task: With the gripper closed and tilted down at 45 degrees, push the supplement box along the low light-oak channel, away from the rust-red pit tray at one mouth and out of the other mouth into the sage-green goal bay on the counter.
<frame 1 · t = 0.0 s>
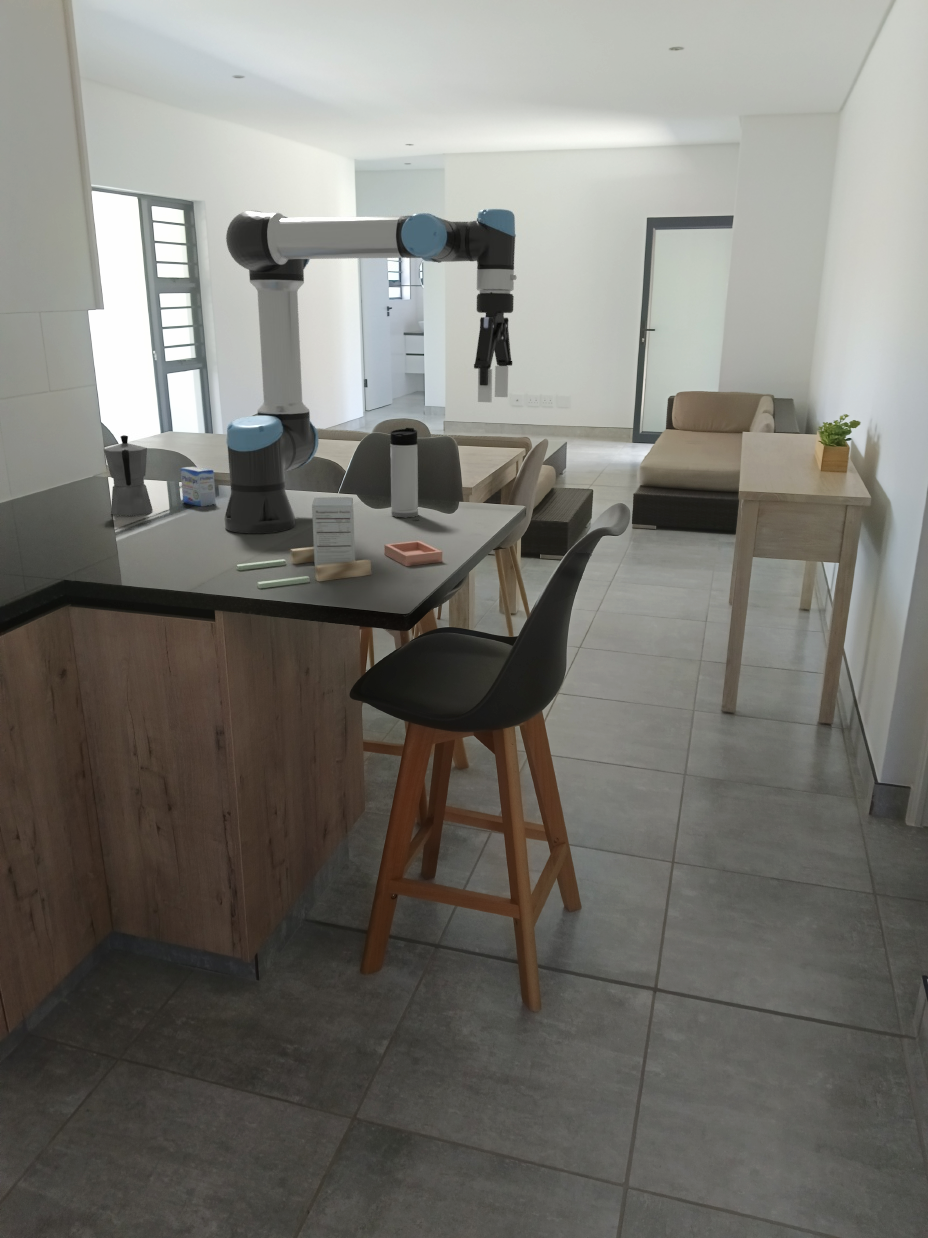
hand: (493, 399, 194), 28 cm above the table, tool pointing down, fingers open, 13 cm apart
pit tray: (413, 558, 178), on the table
channel: (335, 567, 171), on the table
supplement box: (335, 568, 171), on the table
coffeepot: (132, 514, 216), on the table
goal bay: (272, 575, 166), on the table
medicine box: (199, 504, 228), on the table
travel mug: (405, 516, 217), on the table
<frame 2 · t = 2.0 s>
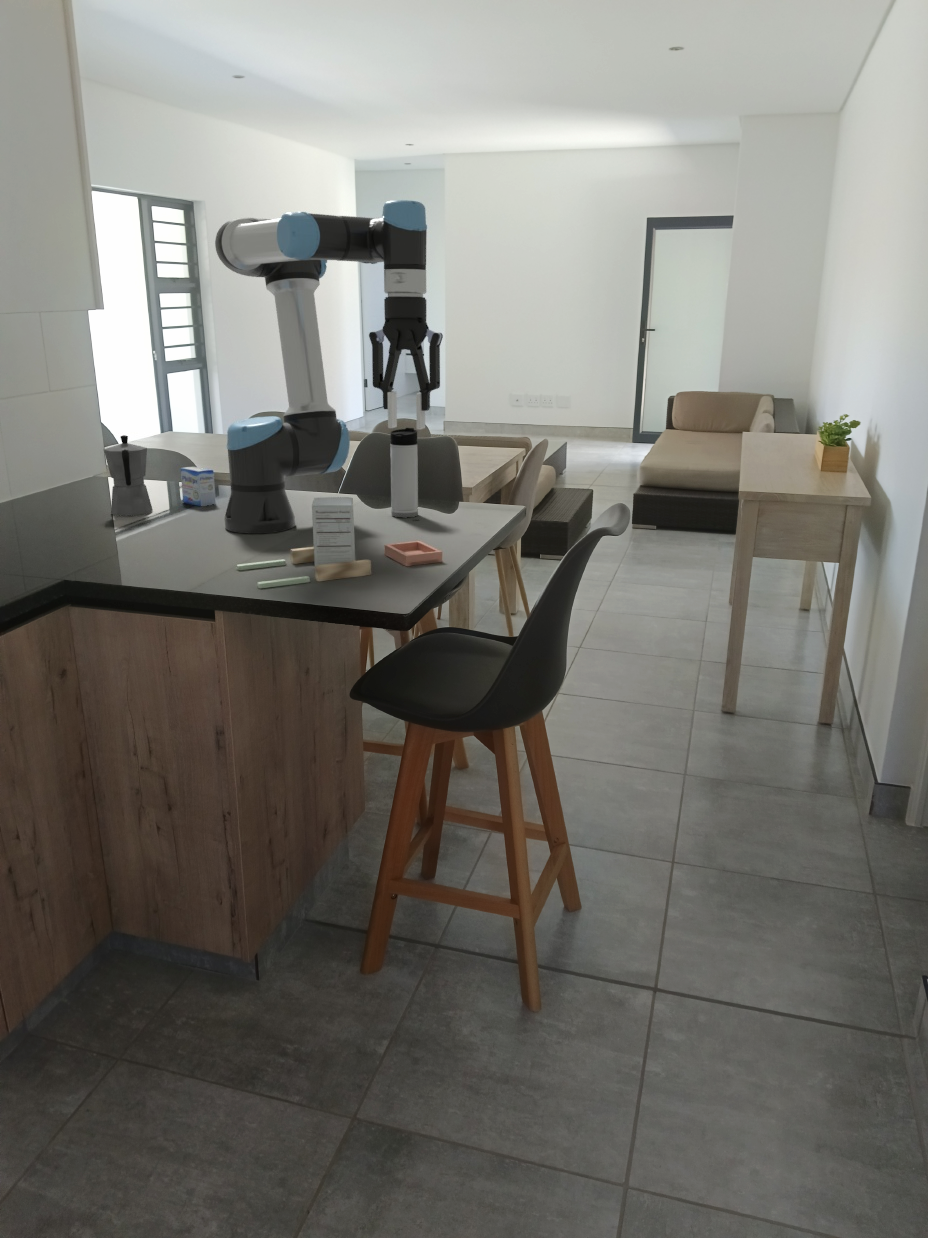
hand: (406, 427, 172), 25 cm above the table, tool pointing down, fingers open, 5 cm apart
nothing on the table moved.
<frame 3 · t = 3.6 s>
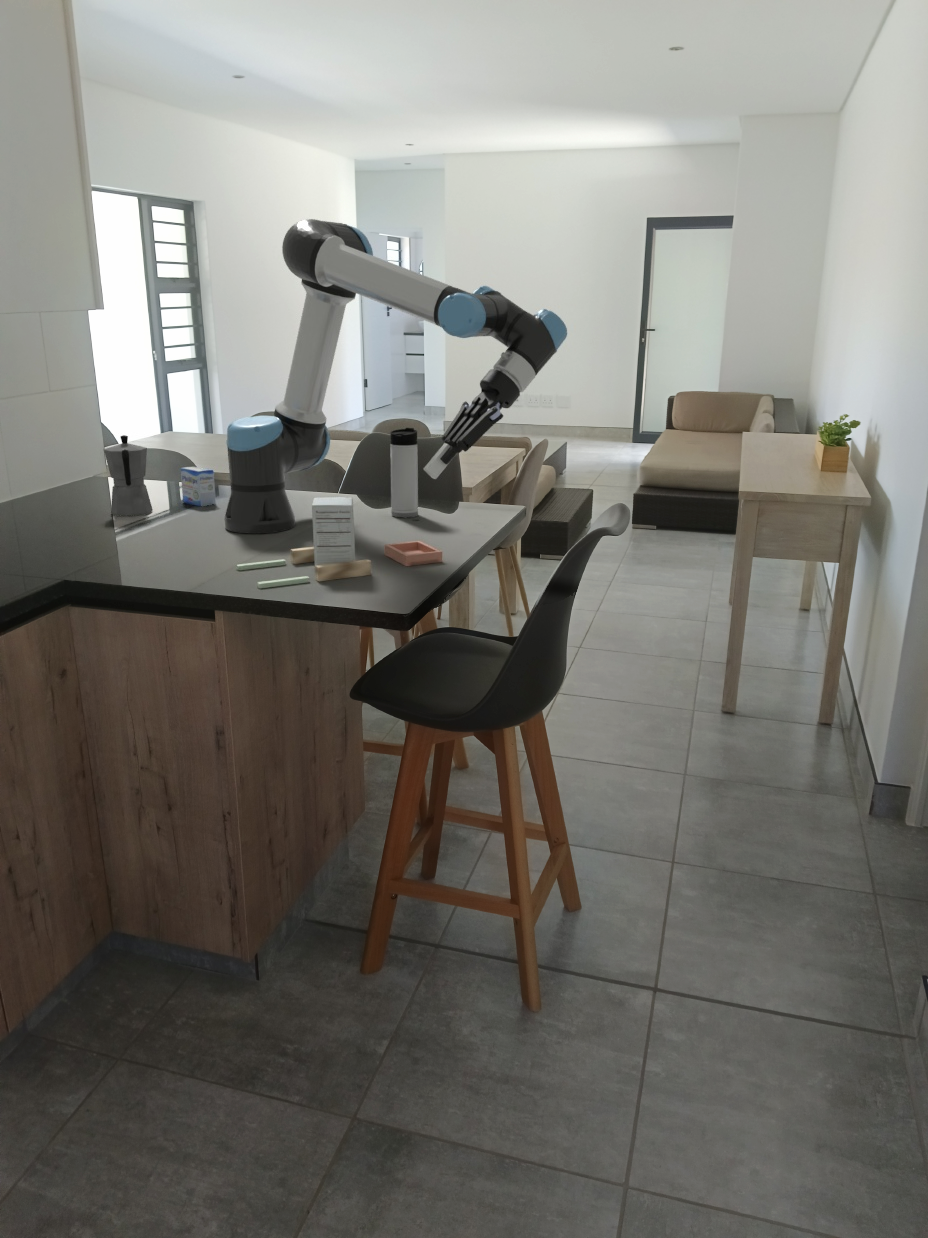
hand: (429, 474, 175), 16 cm above the table, tool tilted 45°, fingers closed
nothing on the table moved.
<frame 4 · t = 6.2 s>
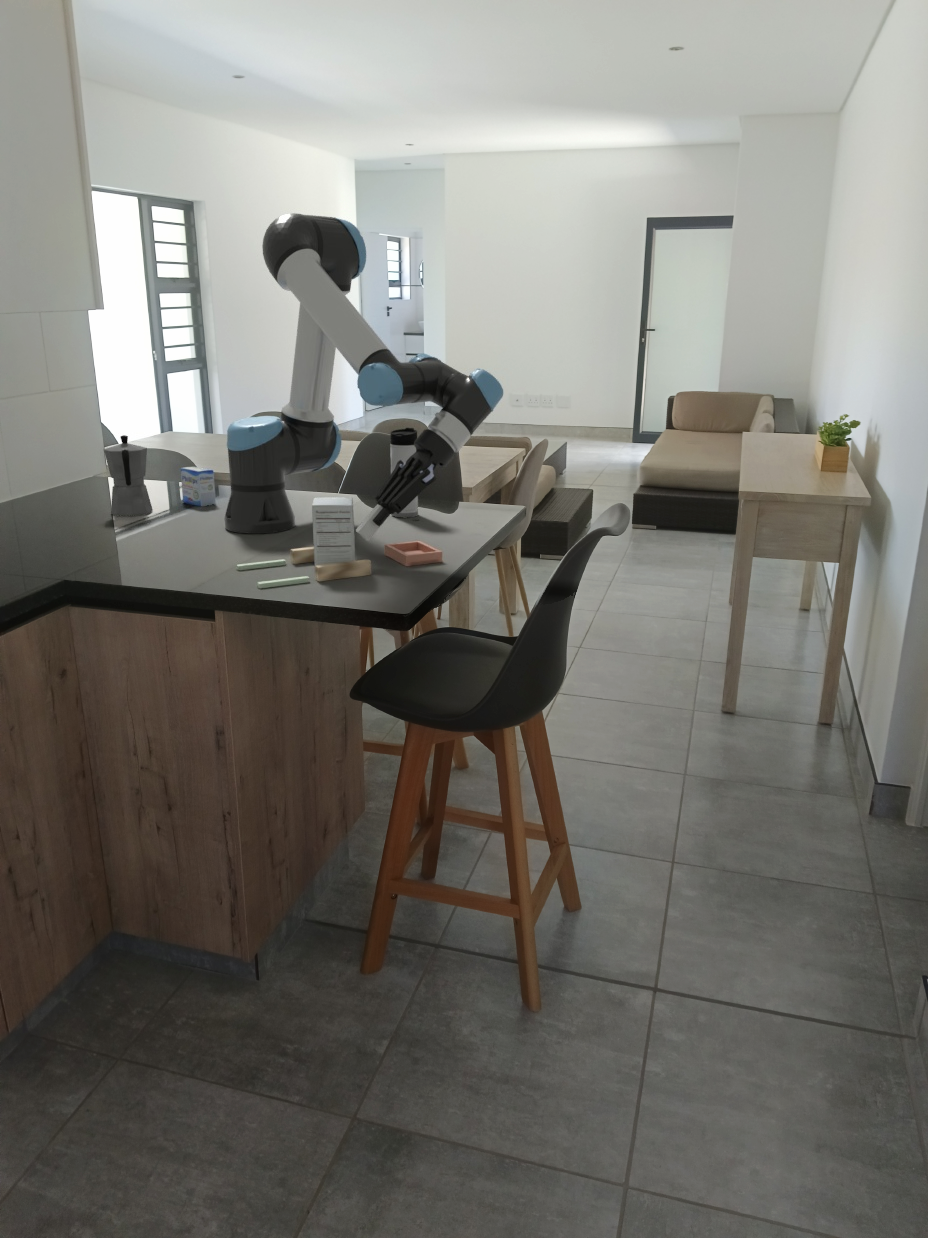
hand: (361, 535, 172), 5 cm above the table, tool tilted 45°, fingers closed
supplement box: (335, 568, 171), on the table, touching gripper
everything else where it was.
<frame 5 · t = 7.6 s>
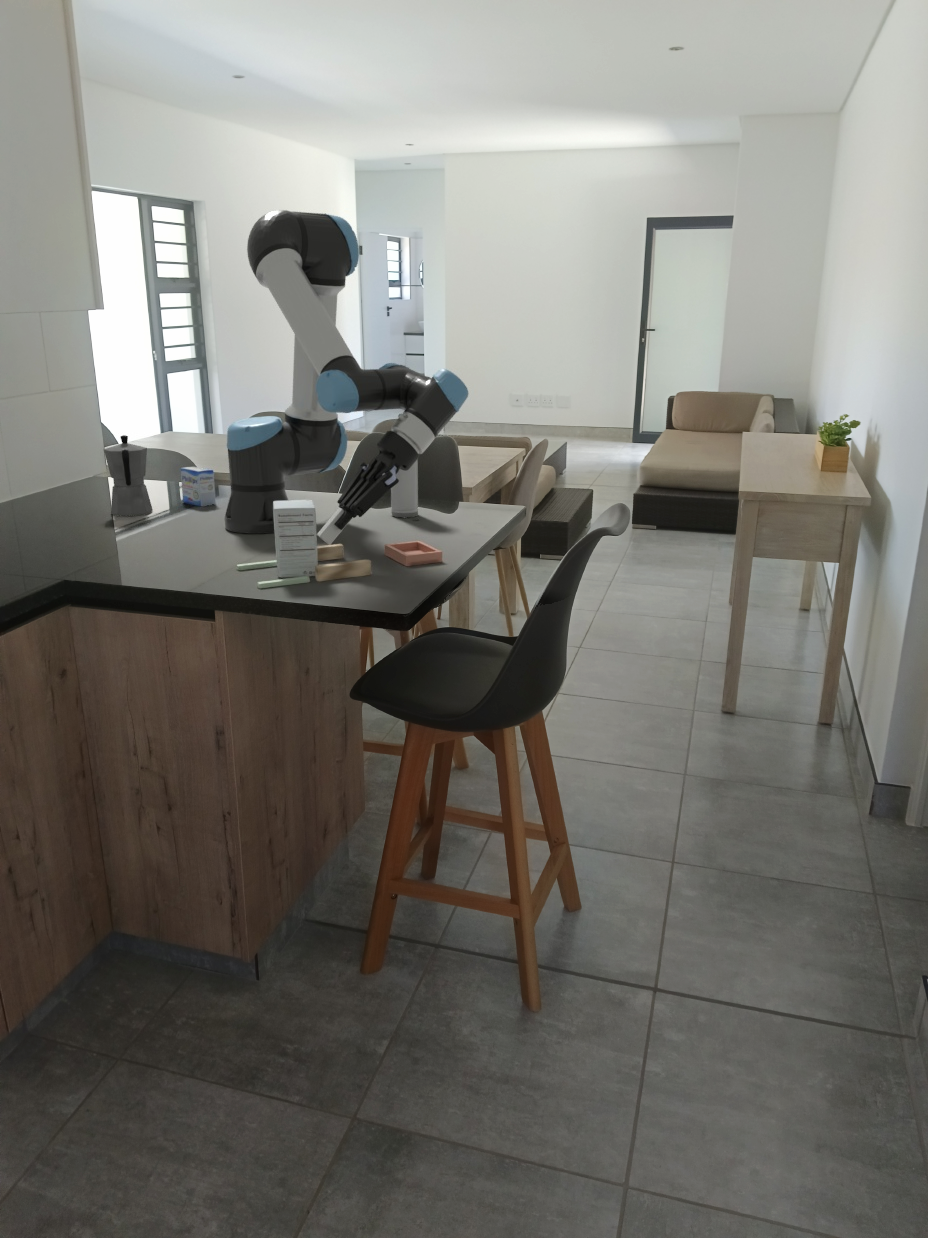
hand: (323, 539, 168), 6 cm above the table, tool tilted 45°, fingers closed
supplement box: (297, 573, 168), on the table, touching gripper
everything else where it was.
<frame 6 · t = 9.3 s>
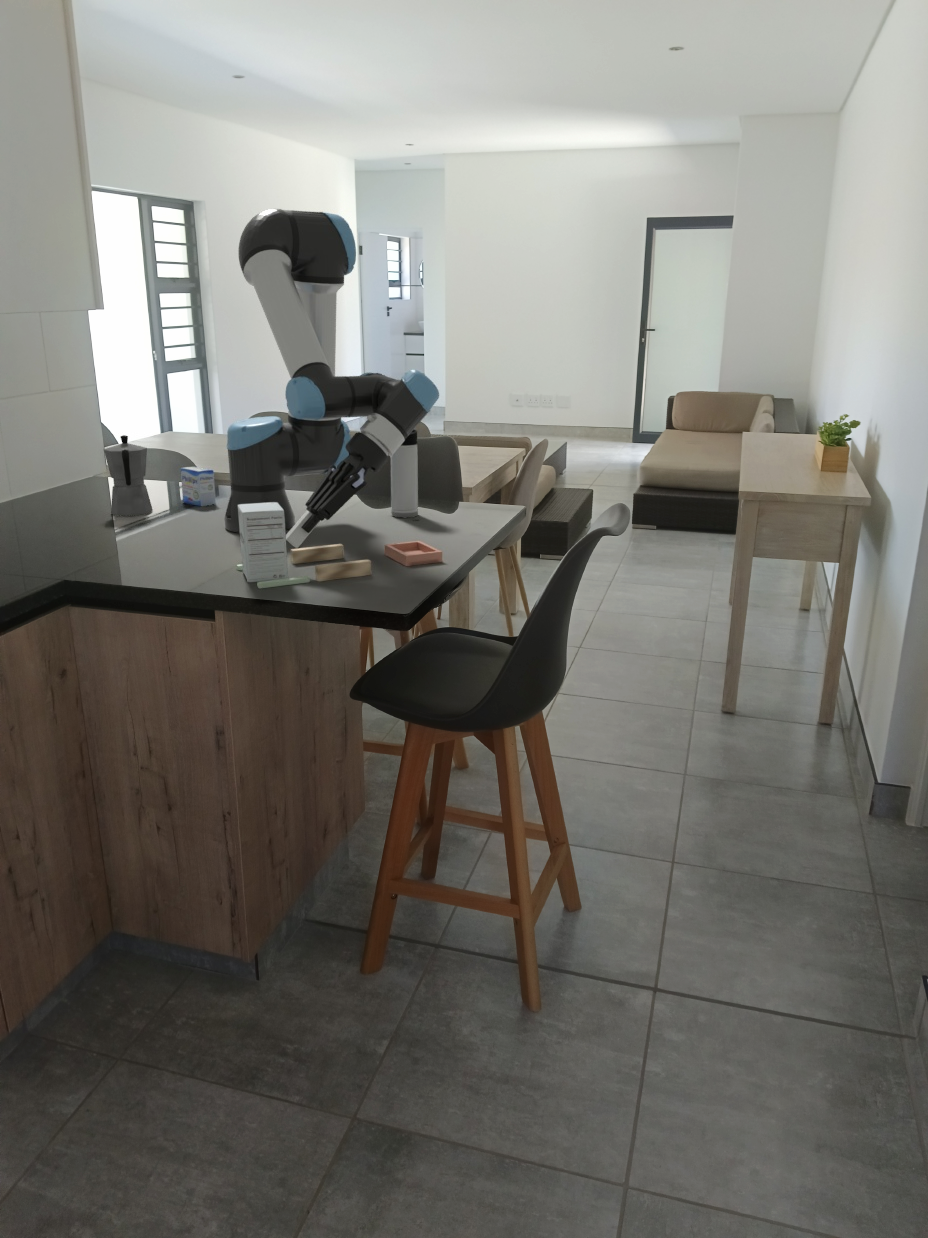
hand: (290, 543, 165), 6 cm above the table, tool tilted 45°, fingers closed
supplement box: (265, 577, 165), on the table, touching gripper
everything else where it was.
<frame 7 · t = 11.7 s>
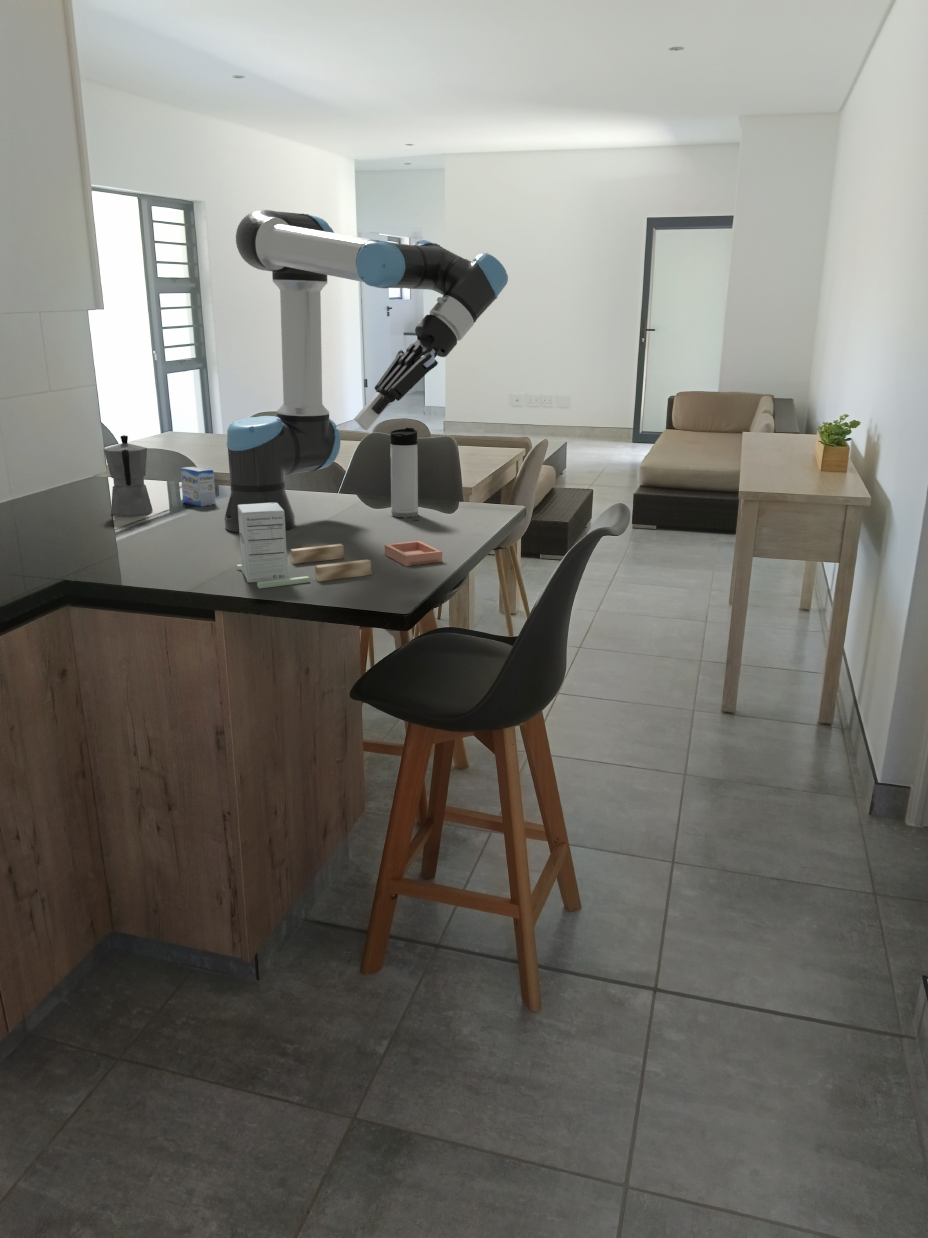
hand: (360, 424, 166), 26 cm above the table, tool tilted 45°, fingers closed
supplement box: (264, 577, 165), on the table
everything else where it was.
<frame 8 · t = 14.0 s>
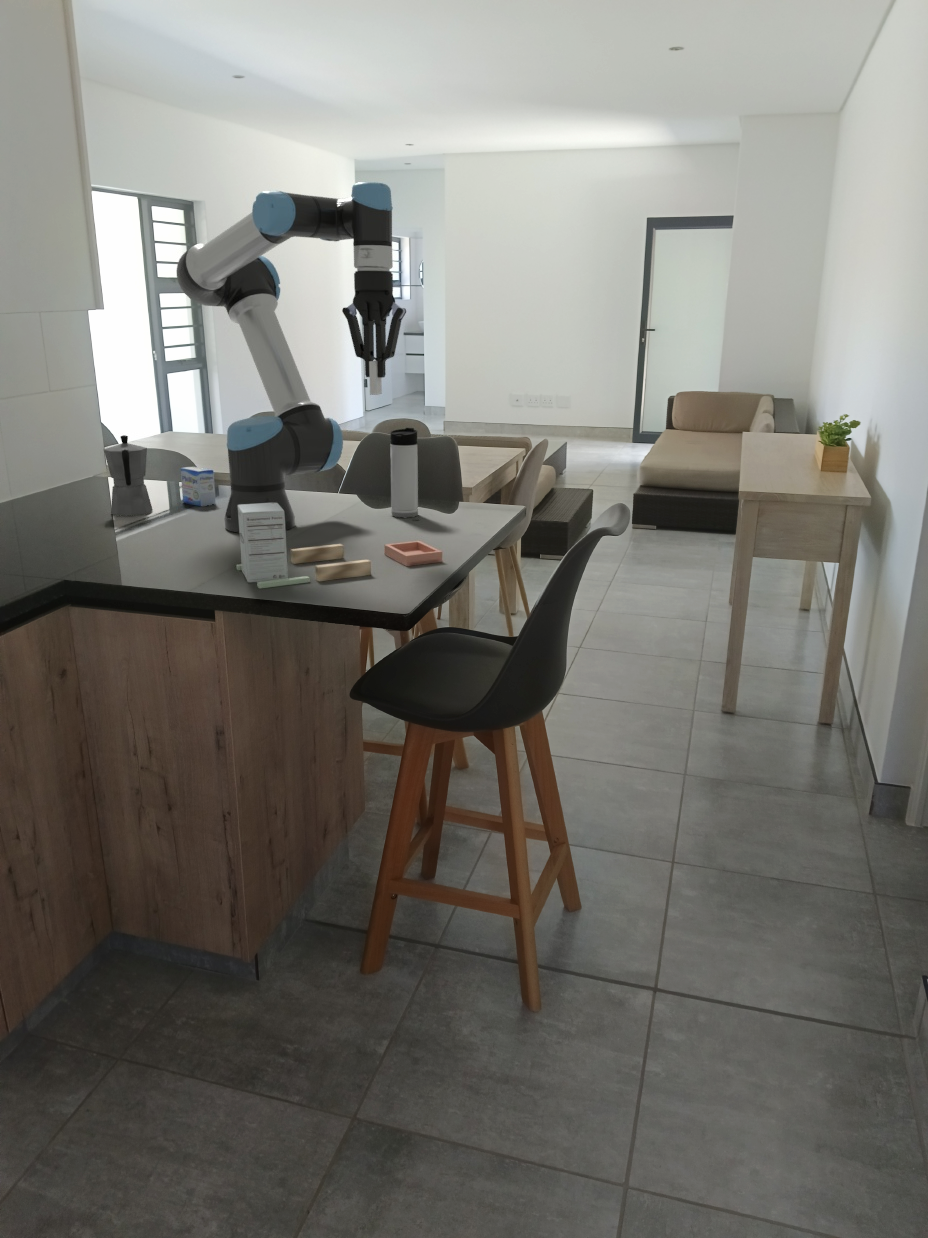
hand: (375, 394, 187), 29 cm above the table, tool pointing down, fingers closed
nothing on the table moved.
at the end: supplement box 1.4 cm from the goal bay (horizontally); supplement box tilted 0°; supplement box moved 13.4 cm from its start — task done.
